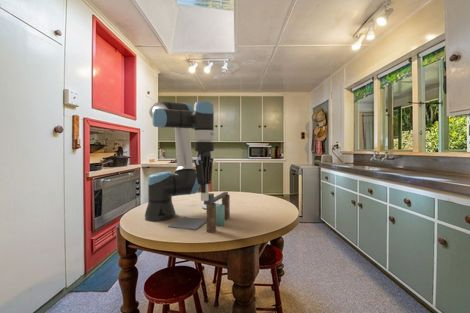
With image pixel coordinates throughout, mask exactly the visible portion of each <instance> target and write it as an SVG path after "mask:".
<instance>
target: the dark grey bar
mask: <svg viewBox="0 0 470 313" xmlns="http://www.w3.org/2000/svg"><path fill="white" fill-rule="evenodd" d="M226 195H229V192H228V191H222V192H221V193H220V194H218V195H216V196H215V193H212V192H211V193H210V192H209V200H208V201H203V205H206V206H207V205H211V204H213V203H216V202H217V201H219V200H222V198H223V197H225V196H226Z"/></svg>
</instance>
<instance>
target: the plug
mask: <svg viewBox="0 0 470 313" xmlns="http://www.w3.org/2000/svg"><path fill="white" fill-rule="evenodd" d="M225 221H226V220H225V208H224V205H223V204H222V203H216V227H223V226H225Z"/></svg>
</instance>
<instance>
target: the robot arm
mask: <svg viewBox="0 0 470 313" xmlns="http://www.w3.org/2000/svg"><path fill="white" fill-rule="evenodd" d="M193 106H194V107H193ZM193 106H192V104H190V103H187V102H173V101H159V102H154V103H153V104H152V105H151V106H150V107H149V112H148V113H149V116H150V117H151V119H152V125H153V127H155V128H162V129H163V128H171V129H172V128H173V129H174V137H175V138H174V140H175V141H174V142H175V154H176V156H175V157H176V169H175V170H174V173H172V171H169V170H167V171H162V172H156V173H152V174H150V175H149V176H148V177H147V186H148V188H147V191H148V192H147V193H148V194H147V195H148V196H147V199H148V200H147V201H148V204H147V207H146V211H145V213H144V220H145V221H149V222H164V221H167V220H171V219H173V218H175V217H176V210H175V207H174V204H173V200H172V199H173V197H175V196H176V197H177V196H187V195H188V196H191V195H195V194H197V193H198V191H200V201H203V202H204V201H208V200H209V193H210V192H209V185H211V184H212V183H211V181H212V174H213V173H212V172H213V164H214V158H213V157H211V156H212V154H211V152H214V150H215V146H214V145H215V143H214V142H213V141H214V140H215V139H214V138H215V137H214V136H215V131H214V127H215V126H214V122H215V121H214V118H215V117H214V114H215V111H214V104H213V102H210V101H205V100H203V101H196V102H195V103H194V105H193ZM190 129H192V130H194V141H195V142H194V151H195V152H197V158H196V159H194V160H193V154H192V142H191V141H192V140H191V130H190ZM193 163H194V164H193ZM193 165H195V167H194V166H193Z"/></svg>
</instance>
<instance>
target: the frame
mask: <svg viewBox="0 0 470 313" xmlns="http://www.w3.org/2000/svg"><path fill="white" fill-rule="evenodd" d="M230 198H231V197H230V194H228V195H226V196H225V197H223V198H221V204H223V205H224V208H225V221H227V220H229V219H230V218H231V212H230V207H231V206H230V202H231V201H230ZM216 204H217V203H216V202H214V203H213V204H211V205H206V219H207V222H206V233H212V234H214V233H215V232H216V231H217V226H216Z"/></svg>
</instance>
